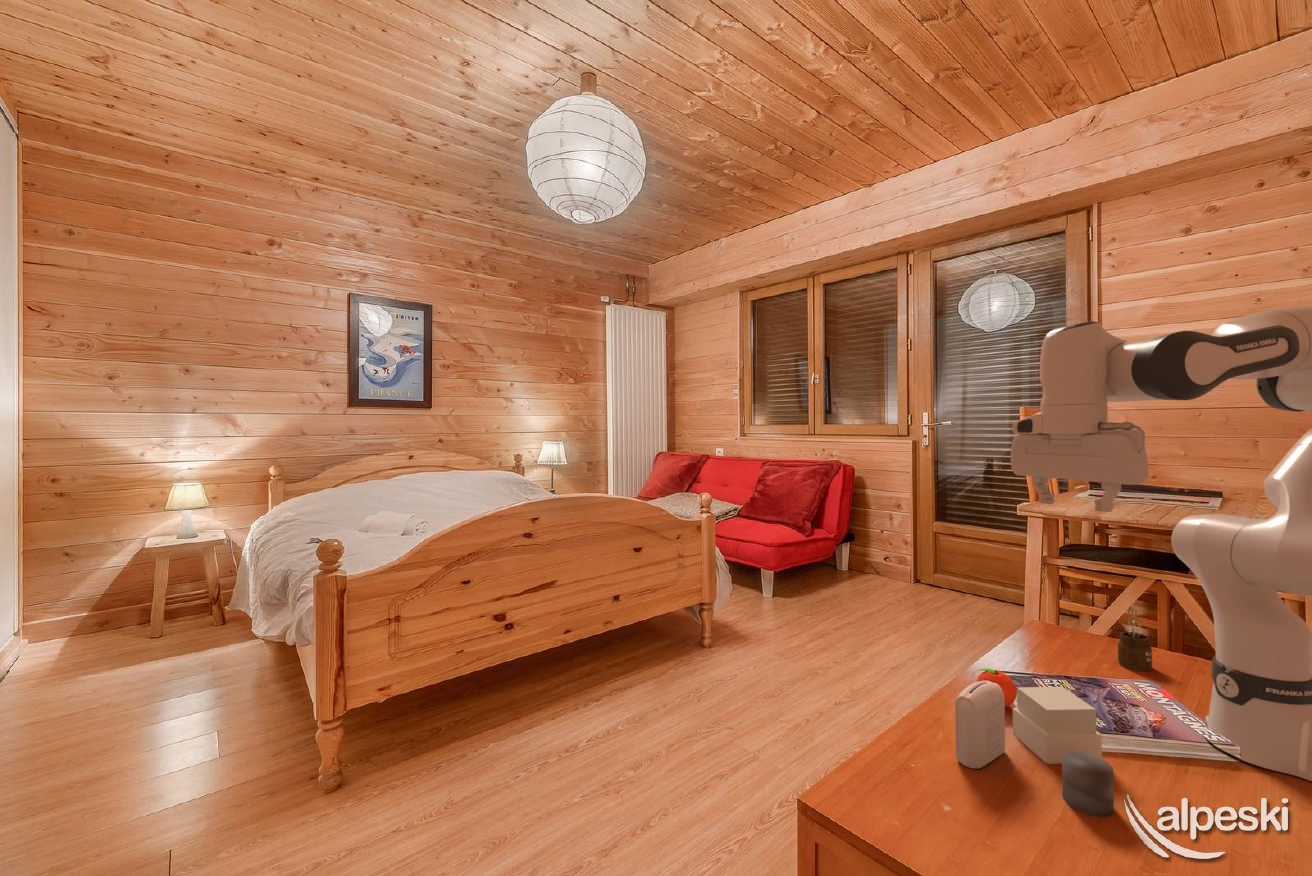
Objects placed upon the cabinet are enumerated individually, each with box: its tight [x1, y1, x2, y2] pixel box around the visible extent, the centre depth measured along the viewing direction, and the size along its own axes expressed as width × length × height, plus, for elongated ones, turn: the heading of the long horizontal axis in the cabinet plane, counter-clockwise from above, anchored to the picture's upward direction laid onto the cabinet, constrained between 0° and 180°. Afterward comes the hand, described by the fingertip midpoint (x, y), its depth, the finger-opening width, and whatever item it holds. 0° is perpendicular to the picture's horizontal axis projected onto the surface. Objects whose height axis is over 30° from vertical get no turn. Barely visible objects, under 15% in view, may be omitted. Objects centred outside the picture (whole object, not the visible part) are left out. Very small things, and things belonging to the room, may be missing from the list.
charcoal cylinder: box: [1061, 751, 1115, 818], centre depth 83 cm, size 6×6×6 cm
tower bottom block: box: [1012, 707, 1103, 765], centre depth 97 cm, size 9×9×5 cm
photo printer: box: [954, 681, 1006, 770], centre depth 95 cm, size 10×4×12 cm, turn 123°
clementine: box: [971, 668, 1017, 708], centre depth 112 cm, size 8×7×7 cm
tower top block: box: [1016, 686, 1097, 734], centre depth 97 cm, size 8×8×4 cm
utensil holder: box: [1117, 608, 1153, 672], centre depth 127 cm, size 6×6×12 cm
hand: (1073, 507), depth 92 cm, fingers open, 8 cm apart
